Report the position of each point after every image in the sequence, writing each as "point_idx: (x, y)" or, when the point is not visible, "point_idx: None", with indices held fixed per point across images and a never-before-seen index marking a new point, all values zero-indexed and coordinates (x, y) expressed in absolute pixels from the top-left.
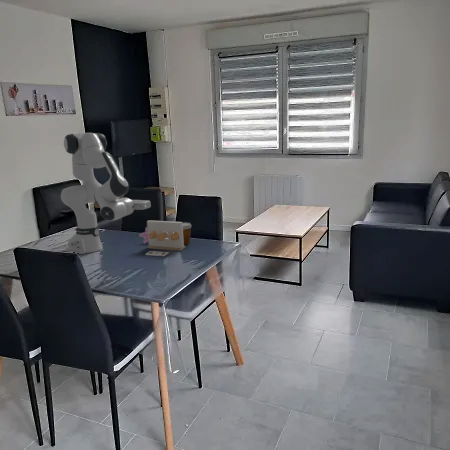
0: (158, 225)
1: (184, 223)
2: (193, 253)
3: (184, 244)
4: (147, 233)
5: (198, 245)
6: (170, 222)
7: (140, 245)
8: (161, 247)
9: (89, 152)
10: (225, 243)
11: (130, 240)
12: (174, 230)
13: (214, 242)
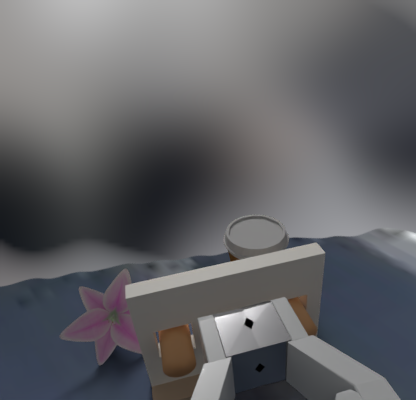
0: (199, 297)
1: (243, 222)
2: (405, 365)
3: None
4: (97, 312)
5: (323, 287)
6: (268, 266)
7: (97, 391)
8: None
9: None
10: (376, 242)
11: (15, 358)
12: (287, 293)
13: (338, 249)
